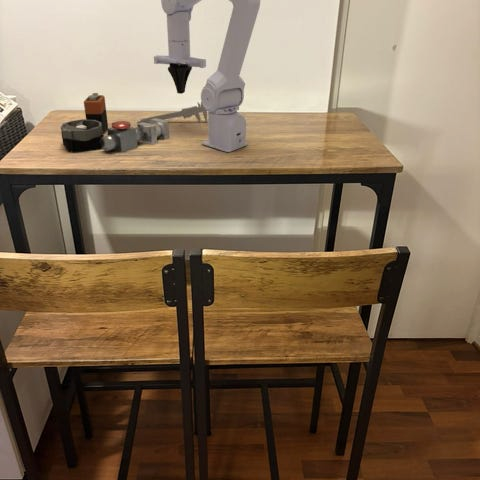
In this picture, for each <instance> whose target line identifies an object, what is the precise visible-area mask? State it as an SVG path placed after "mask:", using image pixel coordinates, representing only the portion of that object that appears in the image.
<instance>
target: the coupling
mask: <svg viewBox="0 0 480 480" xmlns="http://www.w3.org/2000/svg"><path fill="white" fill-rule="evenodd" d="M136 125H137V127H140V128H141V129H142V130H143V133H144V139H143V140H142V141H140V142H142V143H145V144H149V145H154V144H156V143H158V139H161V140H166V139H169V138H170V130H169V129H170V127H169V120H168V119H165V120H162V119H158V118H154V119H151V120H150V123H143V122H142V123H136Z"/></svg>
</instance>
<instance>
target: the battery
mask: <svg viewBox="0 0 480 480" xmlns="http://www.w3.org/2000/svg"><path fill="white" fill-rule="evenodd" d="M83 106H84V113H85V120H96V121H99V122H101V123H102V128H103V135H104V134H105V133H106V132H107V128H109V126H108V125H109V123H108V114H107V105H106V99H105V95H104V94H103V95H99V93H98V92H93V93H92V94H89V95H88V97H86V98H85V100H84V101H83Z"/></svg>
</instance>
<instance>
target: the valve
mask: <svg viewBox="0 0 480 480" xmlns="http://www.w3.org/2000/svg"><path fill="white" fill-rule="evenodd" d="M106 132H107V135H104V137H101V139H100V144H101V147H102V148H101V149H102V150H103V151H105V152H109V151H112V150H114V151H117V152H120V153H125V152H127V151H131V150H133V149H137V148H138V142H141V141H142V140H143V139H144V133H143V130H142V129H141V128H140V127H138V126H137V127H133V126H131V122H130V121H126V120H118V121H114V122H112V123H111V127H108V128H107V129H106Z"/></svg>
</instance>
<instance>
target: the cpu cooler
mask: <svg viewBox="0 0 480 480" xmlns="http://www.w3.org/2000/svg"><path fill="white" fill-rule="evenodd" d="M60 130H61V131H60V133H61V134H60V135H61V139H62V144H63V146H64V148H65V149H66V151H67V152H68V153H81V152H89V151H95V150H101V149H103V148H102V147H101V144H100V139H101V137H104V136H105V135H104V134H103V128H102V123H101V122H99V121H96V120H86V118H84V119H78V120H77V119H76V120H70V121H67V122H64V123H62V125H61V126H60Z"/></svg>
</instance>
